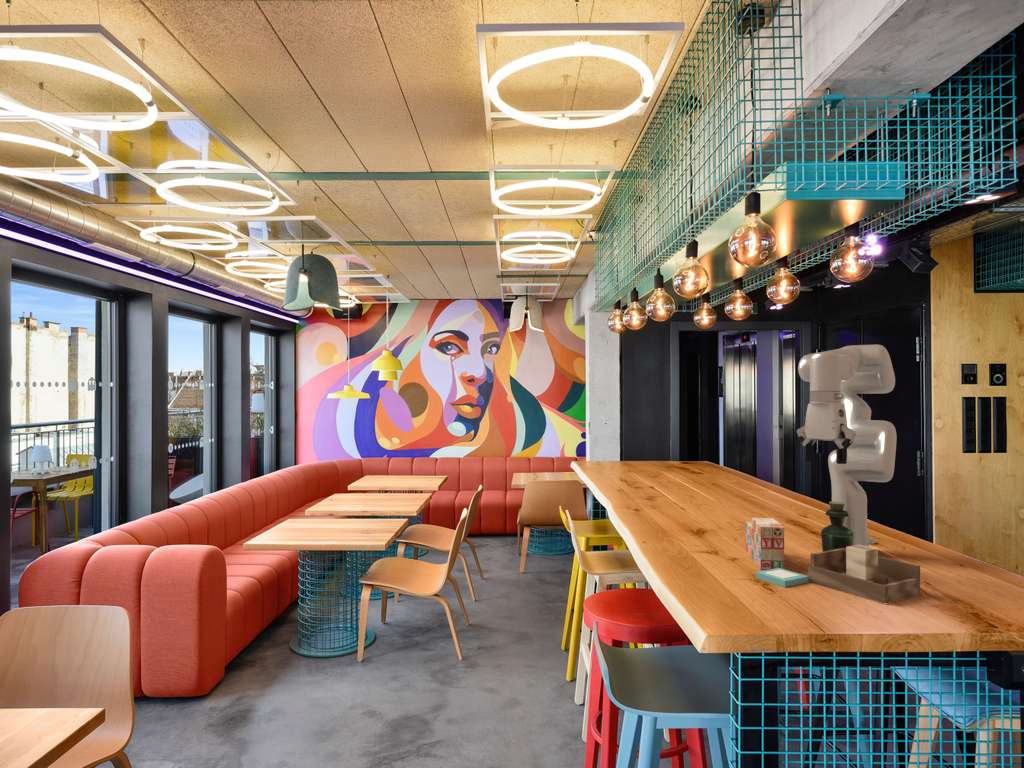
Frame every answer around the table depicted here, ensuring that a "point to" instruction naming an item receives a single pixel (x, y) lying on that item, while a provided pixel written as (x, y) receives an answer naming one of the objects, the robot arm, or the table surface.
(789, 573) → the teal picture frame
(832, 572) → the brown wooden tray
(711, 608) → the table surface
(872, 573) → the beech block
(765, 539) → the stack of blocks
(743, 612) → the table surface
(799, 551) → the table surface
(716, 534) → the table surface
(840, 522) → the potion bottle
